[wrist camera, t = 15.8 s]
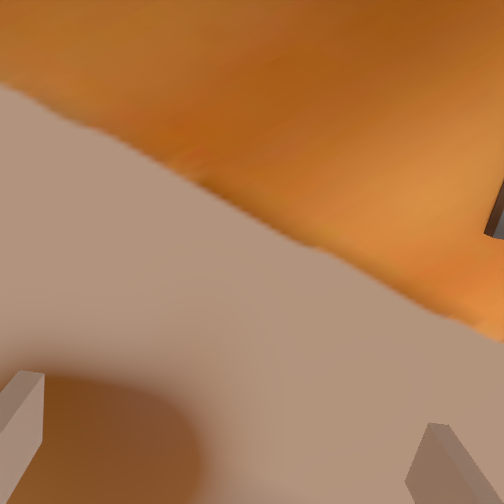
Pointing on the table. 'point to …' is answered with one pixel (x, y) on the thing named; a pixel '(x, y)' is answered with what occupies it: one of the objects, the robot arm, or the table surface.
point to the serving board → (497, 218)
